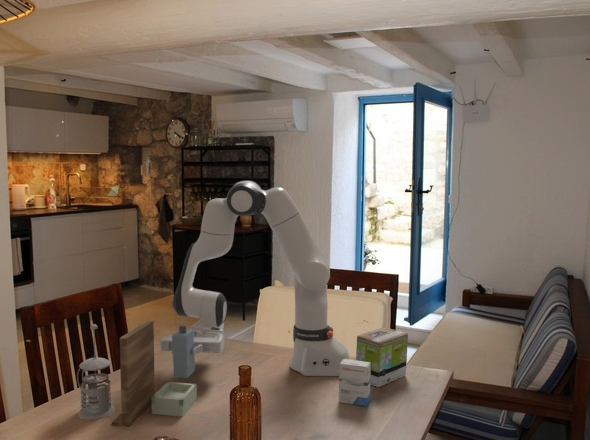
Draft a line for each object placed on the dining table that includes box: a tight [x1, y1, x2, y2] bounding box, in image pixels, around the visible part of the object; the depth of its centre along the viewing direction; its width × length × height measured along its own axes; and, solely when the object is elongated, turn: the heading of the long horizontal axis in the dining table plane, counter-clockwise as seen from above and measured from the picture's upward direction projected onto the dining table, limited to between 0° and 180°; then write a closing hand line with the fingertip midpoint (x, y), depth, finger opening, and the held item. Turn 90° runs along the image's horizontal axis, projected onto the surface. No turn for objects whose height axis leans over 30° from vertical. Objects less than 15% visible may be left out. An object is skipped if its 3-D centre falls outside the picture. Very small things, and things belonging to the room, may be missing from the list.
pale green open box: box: [151, 381, 198, 418], centre depth 159 cm, size 9×11×5 cm
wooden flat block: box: [111, 320, 156, 428], centre depth 154 cm, size 5×16×24 cm, turn 170°
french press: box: [76, 323, 115, 421], centre depth 155 cm, size 10×12×25 cm
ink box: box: [338, 358, 371, 407], centre depth 163 cm, size 8×5×12 cm, turn 71°
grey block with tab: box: [172, 325, 196, 379], centre depth 171 cm, size 4×6×15 cm
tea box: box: [355, 326, 409, 388], centre depth 181 cm, size 15×10×15 cm, turn 135°
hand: (183, 351), depth 171 cm, fingers closed on grey block with tab, 4 cm apart
